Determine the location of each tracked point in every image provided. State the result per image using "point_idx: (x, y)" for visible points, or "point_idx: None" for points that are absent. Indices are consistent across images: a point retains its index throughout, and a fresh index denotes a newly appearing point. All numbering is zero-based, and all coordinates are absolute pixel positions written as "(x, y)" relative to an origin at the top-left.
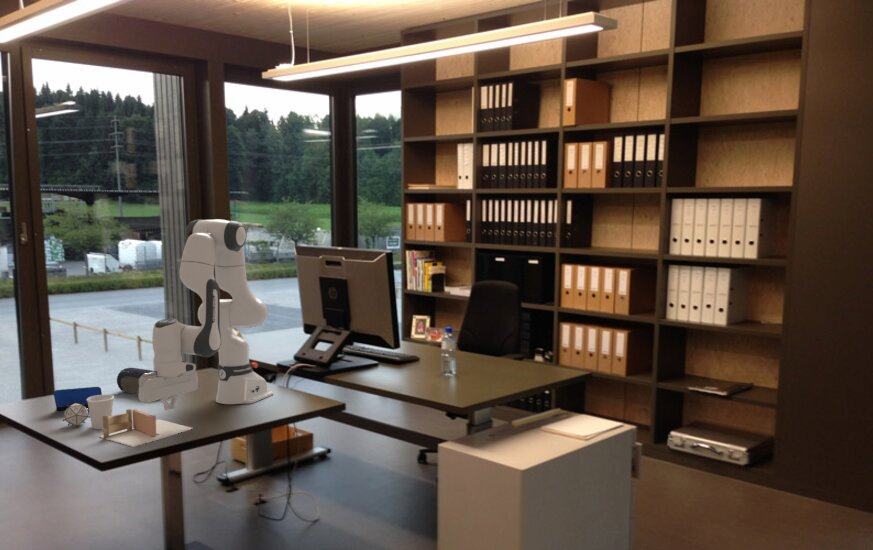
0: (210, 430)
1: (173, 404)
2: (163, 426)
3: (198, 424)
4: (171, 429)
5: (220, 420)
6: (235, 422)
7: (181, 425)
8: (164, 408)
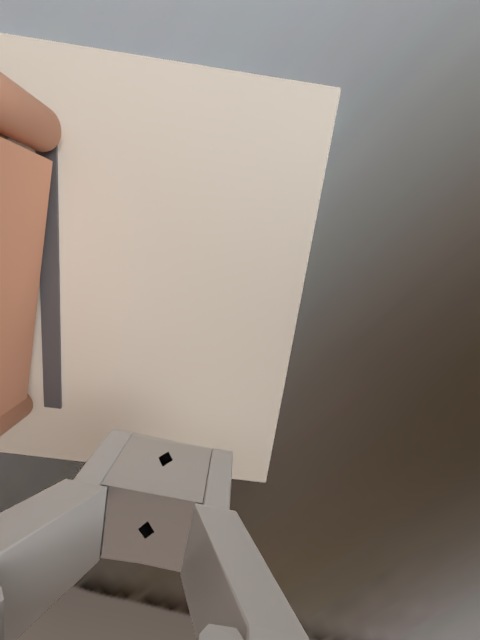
0: (287, 563)
1: (185, 559)
2: (203, 293)
3: (359, 441)
4: (179, 394)
5: (475, 496)
6: (461, 581)
7: (278, 387)
8: (107, 434)
